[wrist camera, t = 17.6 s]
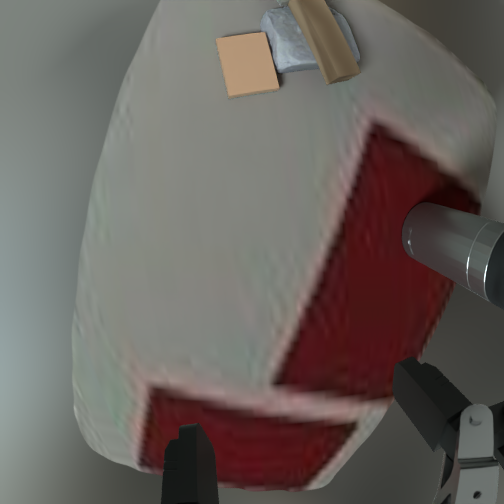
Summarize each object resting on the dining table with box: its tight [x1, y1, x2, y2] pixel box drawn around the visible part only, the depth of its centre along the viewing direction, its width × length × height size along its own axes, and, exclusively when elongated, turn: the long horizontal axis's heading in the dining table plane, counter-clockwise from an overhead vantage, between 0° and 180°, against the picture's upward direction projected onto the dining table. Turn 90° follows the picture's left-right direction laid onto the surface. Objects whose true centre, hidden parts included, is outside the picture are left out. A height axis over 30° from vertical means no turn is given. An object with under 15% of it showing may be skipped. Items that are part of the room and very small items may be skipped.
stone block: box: [260, 7, 360, 73], centre depth 29 cm, size 12×5×10 cm
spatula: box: [277, 0, 361, 85], centre depth 25 cm, size 5×18×4 cm, turn 22°
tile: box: [216, 32, 279, 99], centre depth 30 cm, size 6×2×8 cm
